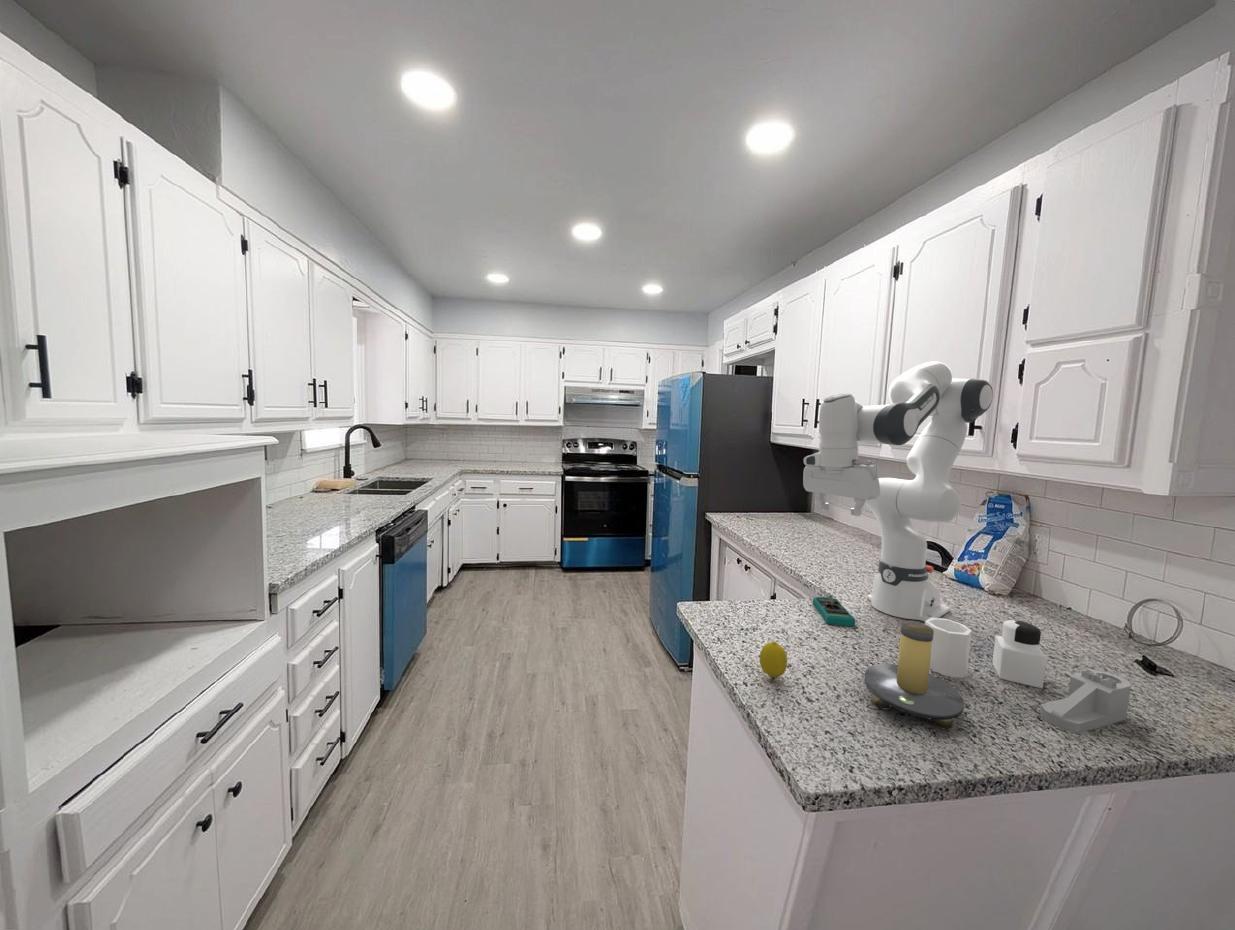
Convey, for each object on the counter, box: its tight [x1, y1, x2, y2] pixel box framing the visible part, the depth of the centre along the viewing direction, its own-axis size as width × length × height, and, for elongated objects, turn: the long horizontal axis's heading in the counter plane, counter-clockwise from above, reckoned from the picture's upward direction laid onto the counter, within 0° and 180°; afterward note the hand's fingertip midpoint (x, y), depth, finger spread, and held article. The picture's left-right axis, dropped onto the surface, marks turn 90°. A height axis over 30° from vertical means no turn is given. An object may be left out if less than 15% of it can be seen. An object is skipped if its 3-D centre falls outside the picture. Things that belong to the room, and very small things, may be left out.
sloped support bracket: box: [1039, 668, 1132, 734], centre depth 84 cm, size 6×18×8 cm, turn 107°
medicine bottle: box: [992, 619, 1047, 689], centre depth 97 cm, size 7×7×12 cm
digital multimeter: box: [812, 596, 856, 627], centre depth 127 cm, size 7×15×3 cm, turn 172°
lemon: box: [759, 641, 788, 679], centre depth 94 cm, size 6×6×8 cm
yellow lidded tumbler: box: [897, 620, 934, 694], centre depth 85 cm, size 5×5×12 cm
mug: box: [924, 617, 973, 679], centre depth 99 cm, size 12×9×10 cm
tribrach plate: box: [864, 663, 965, 730], centre depth 86 cm, size 16×16×4 cm
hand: (839, 512), depth 112 cm, fingers open, 8 cm apart
